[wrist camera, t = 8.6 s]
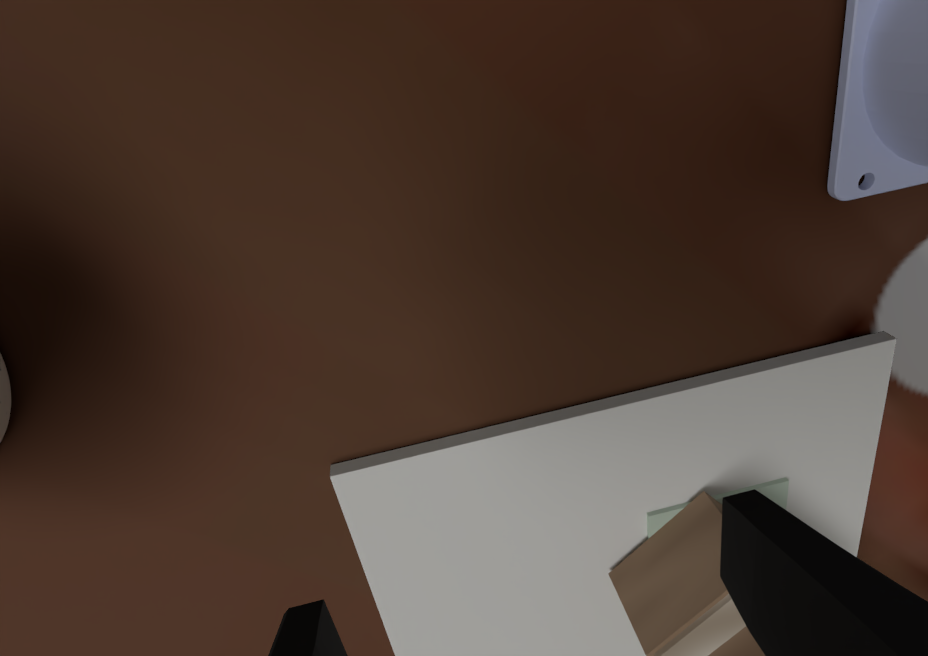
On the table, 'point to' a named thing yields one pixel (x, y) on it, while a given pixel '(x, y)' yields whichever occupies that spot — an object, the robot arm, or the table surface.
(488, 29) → the table surface
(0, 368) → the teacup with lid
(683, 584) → the brown rectangular block
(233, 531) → the table surface
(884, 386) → the grey mat
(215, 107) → the table surface
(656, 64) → the table surface
